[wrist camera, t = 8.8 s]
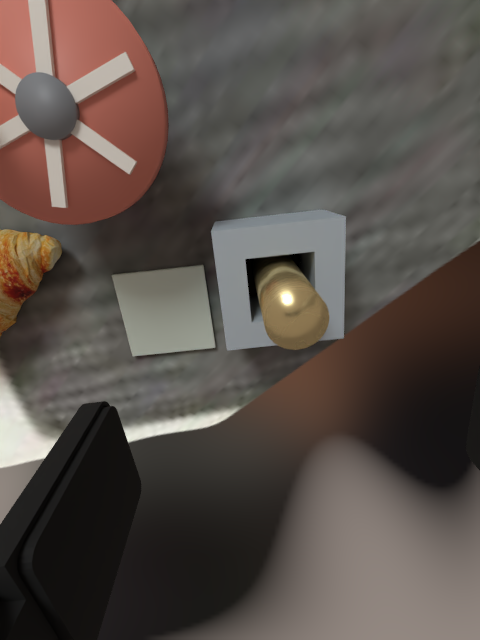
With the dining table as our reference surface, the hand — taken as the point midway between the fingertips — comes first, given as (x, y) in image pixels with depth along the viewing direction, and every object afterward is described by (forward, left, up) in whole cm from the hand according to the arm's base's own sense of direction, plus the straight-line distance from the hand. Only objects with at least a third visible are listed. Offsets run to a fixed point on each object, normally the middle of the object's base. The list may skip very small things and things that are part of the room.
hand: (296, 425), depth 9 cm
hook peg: (-2, +1, -22) cm, 22 cm away
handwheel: (+10, -11, -16) cm, 21 cm away
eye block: (-2, +1, -22) cm, 22 cm away
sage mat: (+8, +4, -22) cm, 24 cm away
